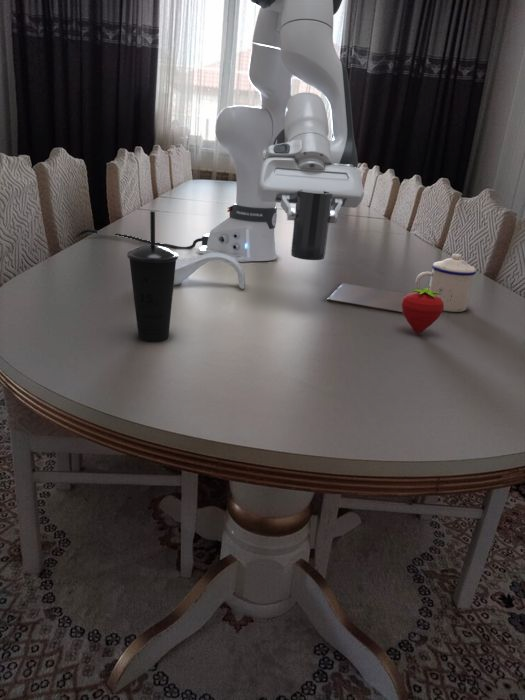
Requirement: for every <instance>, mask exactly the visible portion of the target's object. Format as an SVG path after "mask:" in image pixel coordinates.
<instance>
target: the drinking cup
mask: <svg viewBox="0 0 525 700" xmlns="http://www.w3.org/2000/svg"><path fill="white" fill-rule="evenodd" d="M149 213H150V215H149V216H150V222H149V223H150V225H149V226H150V227H149V228H150V241H151V244H148V245H142V246H139V247H137V248H134V249H132V250H130V251H128V252H127V253H126V256H127V258H128V259H129V267H130V275H131V283H132V284H131V285H132V292H133V303H134V310H135V318H136V327H137V335H138V338H139V340H141V341H143V342H149V343H157V342H164V341H166V340H168V339H169V335H170V325H171V315H172V306H173V305H172V304H173V296H174V286H175V285H174V276H175V266H176V260H177V259H179V254H178V253H177V252H174V251H172V250H171V249H169V248H168V247H163V246H157V245H155V242H156V211H150V212H149Z"/></svg>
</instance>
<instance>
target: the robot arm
mask: <svg viewBox="0 0 525 700" xmlns="http://www.w3.org/2000/svg"><path fill="white" fill-rule="evenodd" d="M250 2H251V3H252V4H254V5H255V6H257V7H259V11H258V14H257V17H256V22H255V25H254V31H253V36H252V42H251V50H250V56H249V63H248V70H247V77H248V80H249V82H250V84H251V85H252V87H253V88H254V89H255V90H256V91H258V93H259V95H260V107H258V106H251V105H242V104H240V105H232V106H226V107H223V108H222V109H221V110H220V112H219V113H218V115H217V117H216V119H215V124H214V132H215V136H216V139H217V141H218V143H219V144H220V145H221V147H222V148H223V149H224V150H225V151H226V152H227V153H228V155H229V157H230V159H231V160H232V163H233V166H234V170H235V171H234V172H235V176H236V177H235V179H236V196H235V198H236V199H235V203H234V204H233V205H230V206H229V207H227V211H226V212H228V213H229V217H227V218H226V219H225V220H223V221H222V222H221V223H219V224H218V225H216V226H215V227H213V228H212V229H211V230H210V232H209V233H206V234H204V235H202V236H201V237H200V238H196V239H195V240H193V242H192V243H191V245H188V246H179V245H174V244H170V243H164V244H160V243H161V242H157V243H155V246H161V247H164V248H170V249H175V250H176V249H179V250H192V249H194V248H195V247H196V244H197V243H199V242H201V247H199V249H198V253H199V254H200V255H203V254H208V253H222V254H225V255H228V256H230V257H232V258H234V259H235V260H236V261H238V262H239V263H242V262H243V263H245V262H246V263H247V262H269V261H274V260H277V258H278V255H277V250H276V238H275V237H276V236H275V228H276V225H277V218H278V208H277V207H276V205H277V203H278V204H279V203H280V207H281V208H282V210H283V211H284V213H285V214H286V220H287V221H293V222H294V221H295V218H296V207H293V206H292V205H291V204H293V205H296V198H297V190H302V191H303V192H310V193H322V194H324V191H326V192H331V193H333V194H332V202H331V210H330V218H329V224H337V222H338V219H339V216H338V215H339V214H338V213H339V212H340V211H341V208H352V209H356V208H358V206H360V205H361V203H362V201H363V199H364V197H365V196H364V195H365V190H364V185H363V181H362V171H361V169H360V168H358V167H359V161H358V153H357V152H358V151H357V146H356V141H355V134H354V133H355V132H354V123H353V121H354V120H353V112H352V111H353V110H352V101H351V100H352V99H351V89H350V88H351V87H350V80H349V74H348V73H349V72H348V69H347V65H346V64H345V62H344V61H343V60H342V59H340V57H339V55H338V53H337V51H336V47H335V44H334V16H335V15H336V14H337V13H338V11H339V10H340V7H341V4H342V2H343V0H250ZM293 77H295V78H296V79H298V80H299V81H301V82H302V83H305V84H307V85H308V86H311V87H312V88H314V89H316V90H317V91H319V92H320V93H321V94H322V95H323V96H324V97H325V98H326V100H327V102H328V105H329V109H330V110H329V112H330V123H331V124H330V125H331V133H332V139H331V140H329V135H330V125H329V119H328V112H327V109H326V106H325V103H324V101H323V99H322V97H321V96H319V94H316V93H313V92H307V91H306V92H305V91H304V92H298V93H296V94H293V95H292V83H293V82H292V81H293ZM97 231H98V230H97V229H92V228H86V229H83V230H81V231H79V233H78V235H79V236H82V235H84V234H86V233H93V234H98V233H97ZM121 234H122V233H116V234H115V235H119V236H124V237H128V238H127V239H130V238H132V239H131V240H134V239H135V241H137V242H141V243H145V244H148V245H151V242H150V241H151V240H149V241H147V240H148V239H145V240H142V239H143V238H141V239H139V238H140V237H137V238H135V237H136V236H134V237H132V236H133V235H130V236H127V235H128V234H124V235H121ZM124 237H123V238H124Z"/></svg>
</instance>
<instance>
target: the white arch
mask: <svg viewBox="0 0 525 700" xmlns="http://www.w3.org/2000/svg"><path fill="white" fill-rule="evenodd" d="M213 261H220V262H223V263H226V264H228V265H229V266H231V267H232V268H233V269H234V270H235V272H236V274H237V278H238V285H239V288H240V289H241V290H244V289H245V287H246V275H245V271H244V268H243V266H242V265H241V264H240V262H239V261H236V260H235V259H234V258H232V257H230V256H228V255H225V254H222V253H208V254H200V255H195V256H192V257H187V258H186V257H185V258H178V259H177V260H176V266H175V276H174V286H178V285H180V284H183V282H184V281H185V280H187V279H188V278H189V277H190V276H191V275H192V274H193V273H194V272H196V271H197V270H199V268H201V267H202V266H204V265H206V264H207V263H209V262H213Z"/></svg>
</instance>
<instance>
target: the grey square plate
mask: <svg viewBox="0 0 525 700" xmlns="http://www.w3.org/2000/svg"><path fill="white" fill-rule="evenodd" d="M408 294H409V293H407V292H401V291H393V290H388V289H381V288H375V287H369V286H363V285H362V286H361V285H356V284H350V283H341V284H340V285H339V286H338V287H337V289H335V290H334V291H333V293H332V294H331V295H330V296H328V298H327V299H326V301H327V302H332V303H338V304H344V305H350V306H354V307H355V306H356V307H362V308H367V309H373V310H380V311H384V312H391V313H397V314H403V311H402V304H401V303H402V300H403V298H404V297H405V296H406V295H408Z"/></svg>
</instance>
